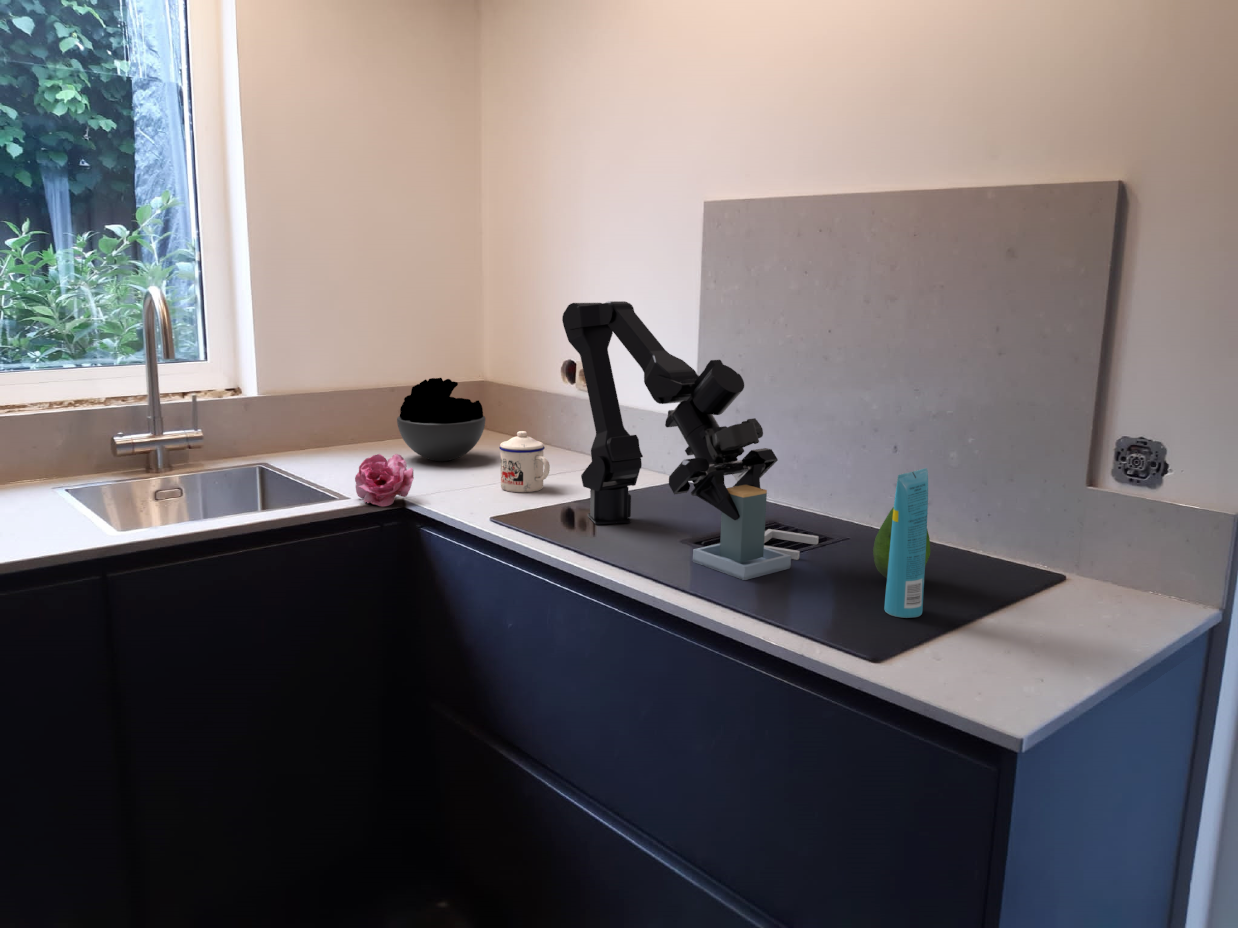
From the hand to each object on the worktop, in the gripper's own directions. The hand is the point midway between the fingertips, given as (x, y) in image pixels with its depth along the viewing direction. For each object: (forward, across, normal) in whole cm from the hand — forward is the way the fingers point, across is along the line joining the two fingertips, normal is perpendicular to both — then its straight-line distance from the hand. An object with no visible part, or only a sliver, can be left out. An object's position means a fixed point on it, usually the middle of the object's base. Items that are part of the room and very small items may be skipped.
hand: (749, 516), depth 144 cm
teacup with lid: (-38, +1, +50) cm, 63 cm away
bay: (+3, +13, +8) cm, 16 cm away
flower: (-43, -27, +55) cm, 75 cm away
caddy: (+4, 0, +6) cm, 7 cm away
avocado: (+18, +14, -7) cm, 24 cm away
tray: (+5, 0, +7) cm, 8 cm away
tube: (+24, +3, -12) cm, 27 cm away
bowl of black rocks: (-64, +1, +76) cm, 99 cm away
